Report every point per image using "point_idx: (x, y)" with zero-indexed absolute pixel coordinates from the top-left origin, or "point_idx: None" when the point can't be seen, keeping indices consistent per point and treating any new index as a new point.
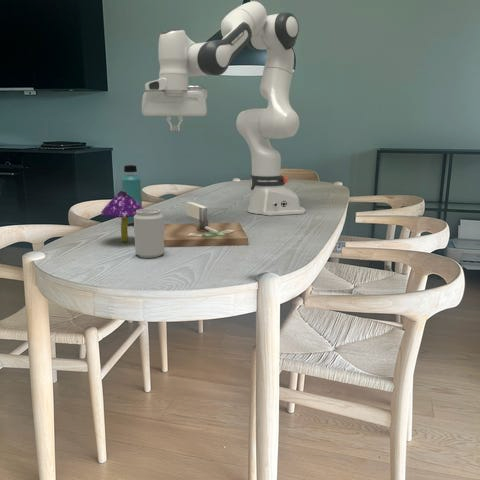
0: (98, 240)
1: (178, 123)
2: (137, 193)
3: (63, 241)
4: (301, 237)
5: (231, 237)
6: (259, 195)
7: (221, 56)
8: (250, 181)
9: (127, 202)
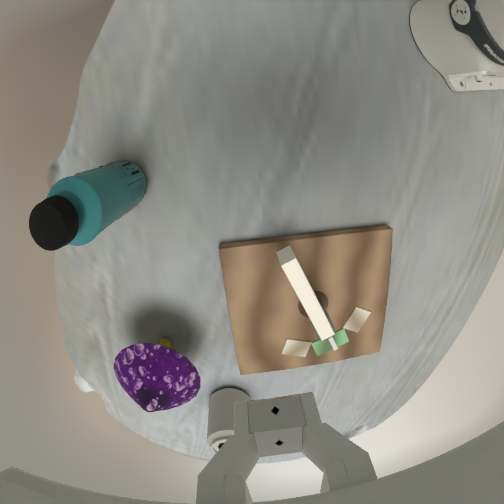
0: (117, 327)
1: (313, 462)
2: (115, 217)
3: (70, 330)
4: (458, 291)
5: (355, 351)
6: (463, 56)
7: None
8: (462, 11)
9: (169, 408)
